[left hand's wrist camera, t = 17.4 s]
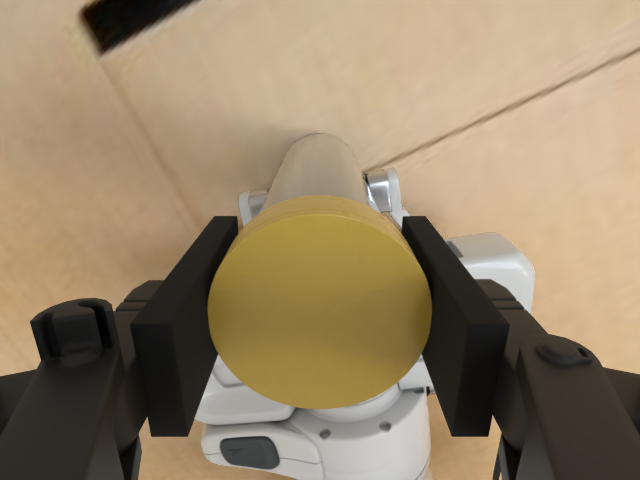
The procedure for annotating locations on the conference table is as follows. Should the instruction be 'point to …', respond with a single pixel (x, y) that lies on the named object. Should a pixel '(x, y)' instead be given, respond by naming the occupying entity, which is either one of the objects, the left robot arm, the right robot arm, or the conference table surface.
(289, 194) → the jar
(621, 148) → the conference table surface
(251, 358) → the lid
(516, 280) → the right robot arm
